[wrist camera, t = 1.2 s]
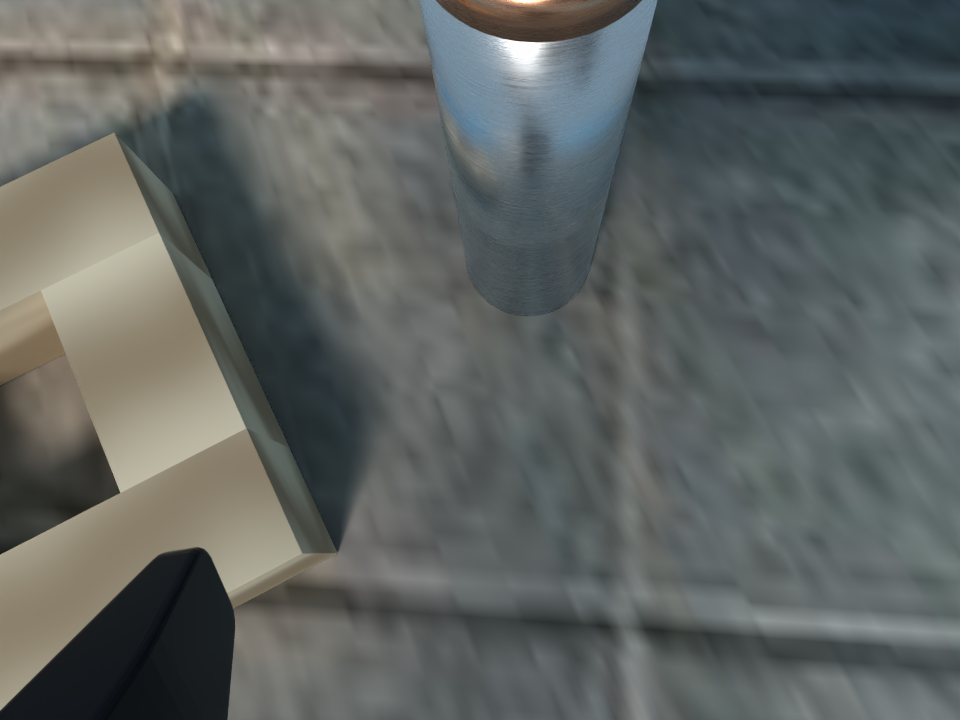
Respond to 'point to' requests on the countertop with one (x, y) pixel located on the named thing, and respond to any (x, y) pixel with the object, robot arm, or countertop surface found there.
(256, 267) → the countertop surface
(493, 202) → the copper capped silver cylinder
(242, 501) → the socket block
